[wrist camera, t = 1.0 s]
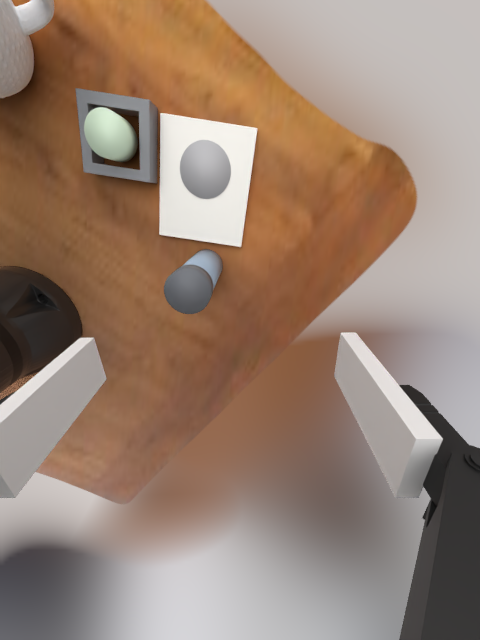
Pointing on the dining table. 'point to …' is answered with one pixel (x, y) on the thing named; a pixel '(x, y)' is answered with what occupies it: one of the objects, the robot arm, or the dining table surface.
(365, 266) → the dining table surface
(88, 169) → the button housing
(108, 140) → the button
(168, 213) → the white flat plate
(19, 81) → the mug
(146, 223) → the dining table surface
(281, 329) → the dining table surface
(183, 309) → the capped blue-grey cylinder
